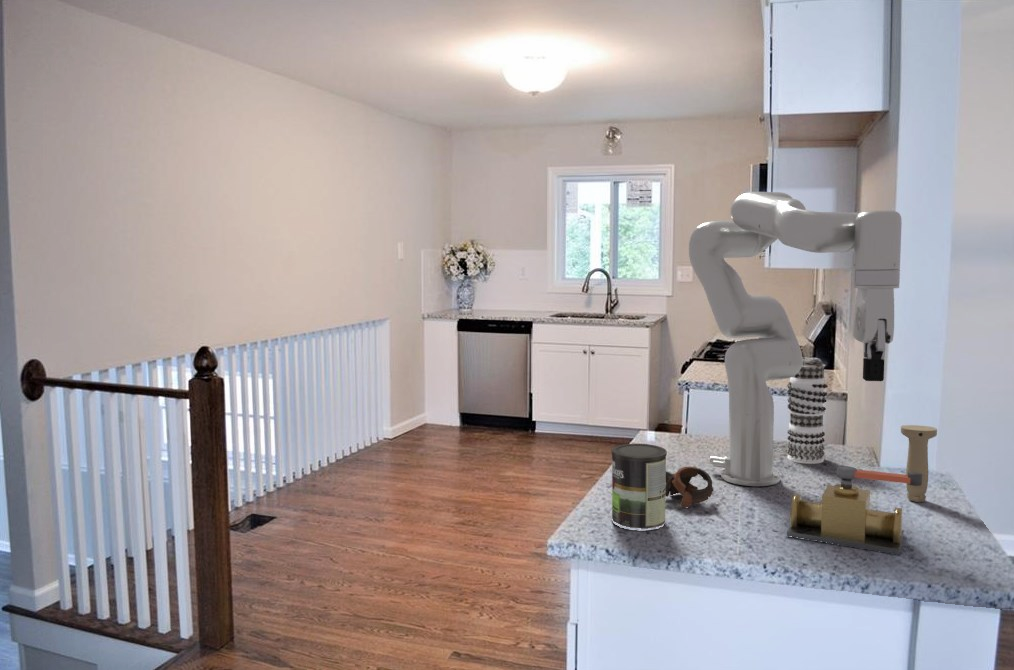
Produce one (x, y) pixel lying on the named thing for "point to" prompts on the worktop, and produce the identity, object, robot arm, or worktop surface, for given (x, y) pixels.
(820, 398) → the white patterned cylinder
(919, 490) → the handle
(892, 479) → the lever
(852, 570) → the worktop surface
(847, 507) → the valve
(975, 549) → the worktop surface
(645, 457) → the coffee can
